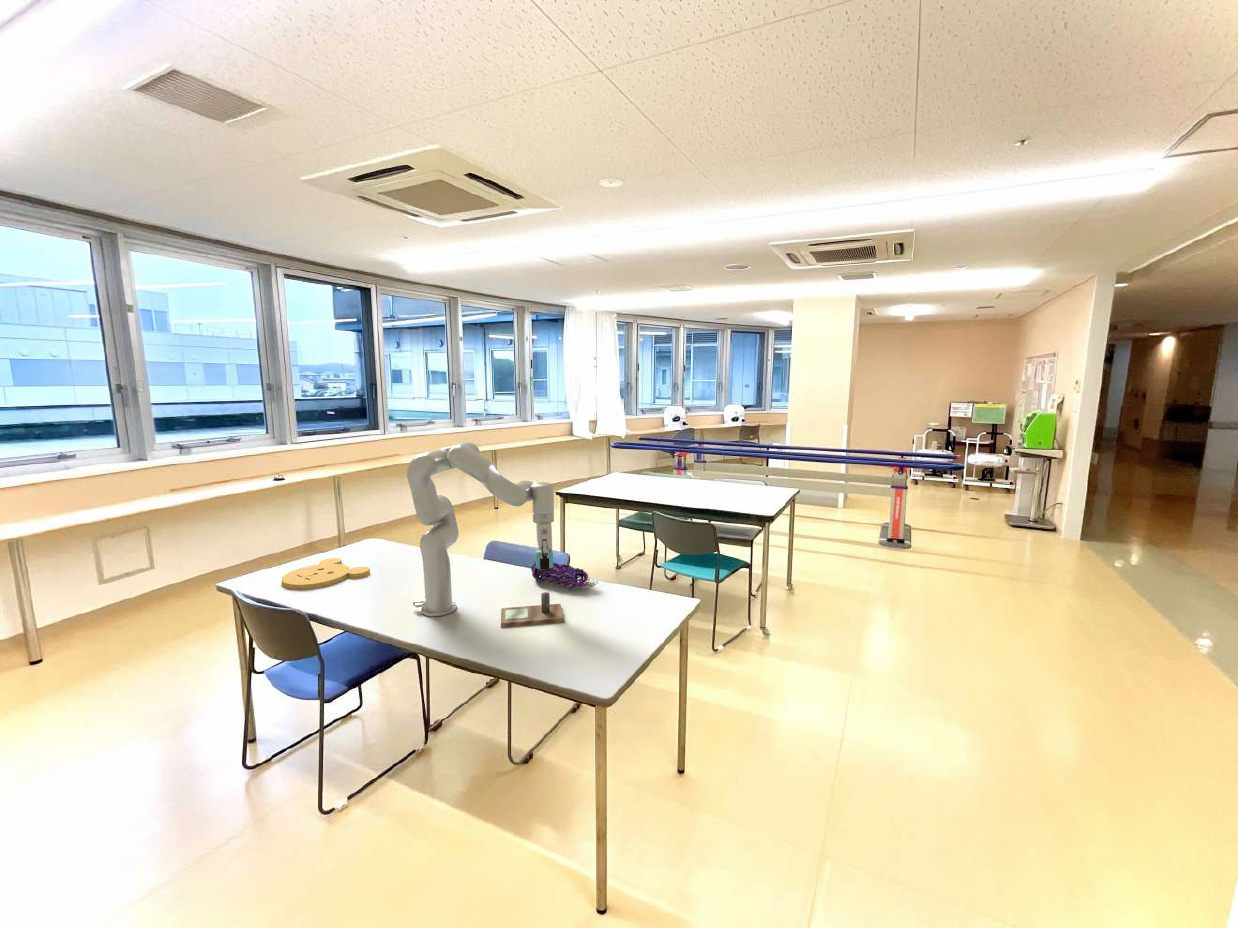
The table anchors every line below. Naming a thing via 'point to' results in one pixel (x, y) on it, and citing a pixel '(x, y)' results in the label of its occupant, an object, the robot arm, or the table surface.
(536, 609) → the post board
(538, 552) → the teal cap
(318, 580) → the decorative plaque
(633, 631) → the table surface
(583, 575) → the decorative ornament
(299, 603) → the table surface
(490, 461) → the robot arm
